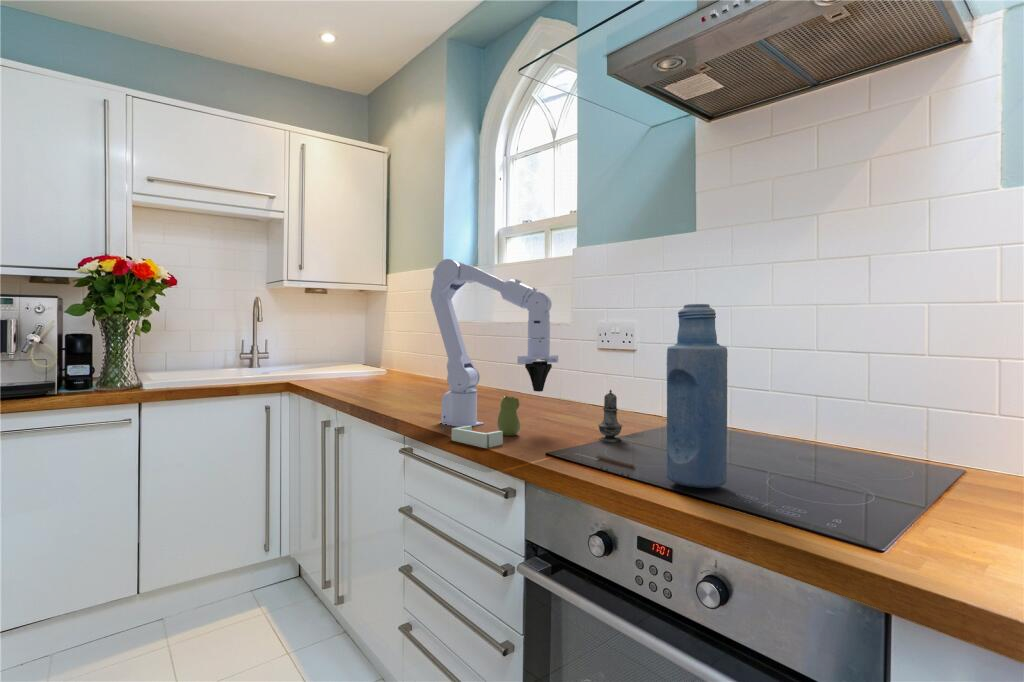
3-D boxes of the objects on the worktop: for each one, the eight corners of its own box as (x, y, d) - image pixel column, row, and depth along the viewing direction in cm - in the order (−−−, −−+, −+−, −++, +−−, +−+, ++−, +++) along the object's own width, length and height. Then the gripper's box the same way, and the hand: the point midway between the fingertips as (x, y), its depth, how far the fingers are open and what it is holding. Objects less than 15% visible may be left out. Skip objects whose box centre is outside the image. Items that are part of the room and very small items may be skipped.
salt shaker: (622, 443, 123) (623, 391, 123) (596, 441, 125) (597, 390, 125) (622, 438, 129) (623, 388, 129) (598, 437, 130) (598, 388, 130)
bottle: (739, 483, 89) (741, 304, 89) (700, 492, 84) (702, 301, 84) (692, 471, 97) (694, 306, 97) (654, 478, 92) (656, 304, 92)
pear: (493, 435, 131) (493, 395, 131) (509, 433, 134) (510, 393, 134) (508, 439, 127) (508, 397, 126) (524, 436, 130) (525, 395, 130)
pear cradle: (451, 441, 123) (451, 428, 123) (468, 438, 127) (468, 425, 127) (485, 448, 116) (485, 434, 116) (502, 444, 120) (502, 431, 120)
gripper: (533, 338, 130) (532, 394, 130) (567, 339, 141) (567, 390, 141) (511, 338, 135) (510, 392, 135) (546, 338, 146) (546, 388, 146)
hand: (538, 391), depth 138 cm, fingers closed
